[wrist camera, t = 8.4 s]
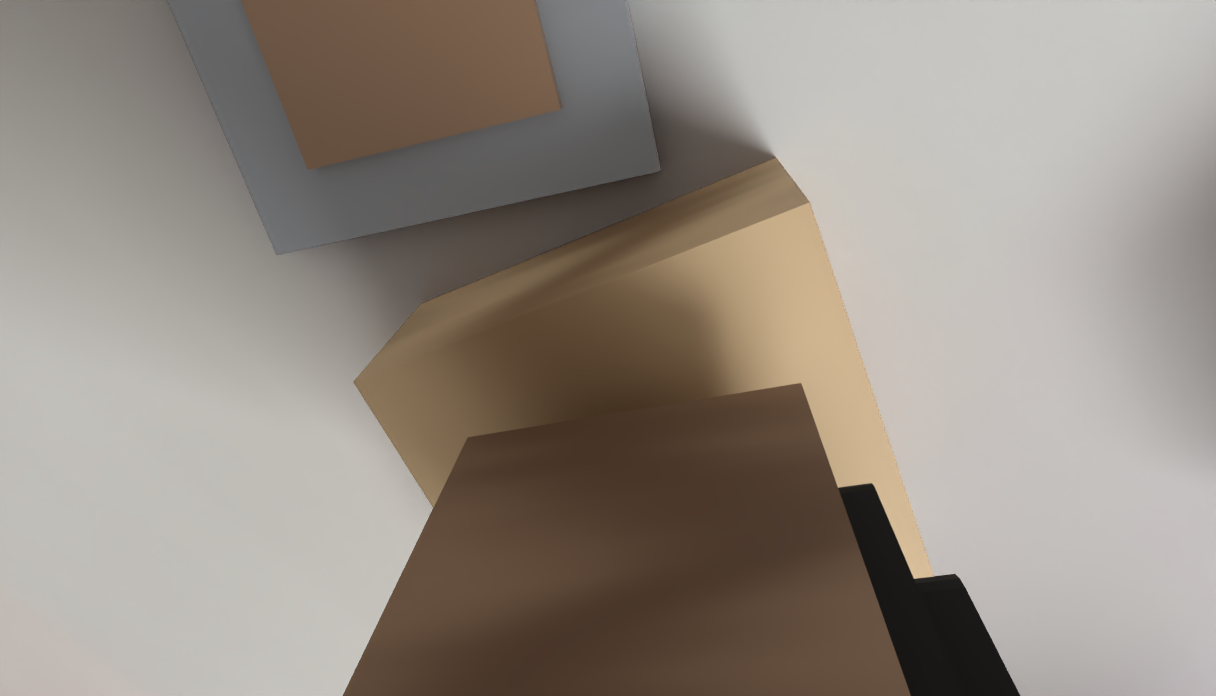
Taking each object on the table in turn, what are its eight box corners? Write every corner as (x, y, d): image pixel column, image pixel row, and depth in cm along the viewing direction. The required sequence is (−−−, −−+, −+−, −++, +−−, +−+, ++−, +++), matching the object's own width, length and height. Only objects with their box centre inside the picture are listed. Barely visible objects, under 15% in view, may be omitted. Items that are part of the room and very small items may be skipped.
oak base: (774, 154, 14) (810, 202, 11) (883, 475, 17) (941, 599, 13) (425, 299, 16) (353, 381, 12) (576, 566, 19) (553, 697, 15)
